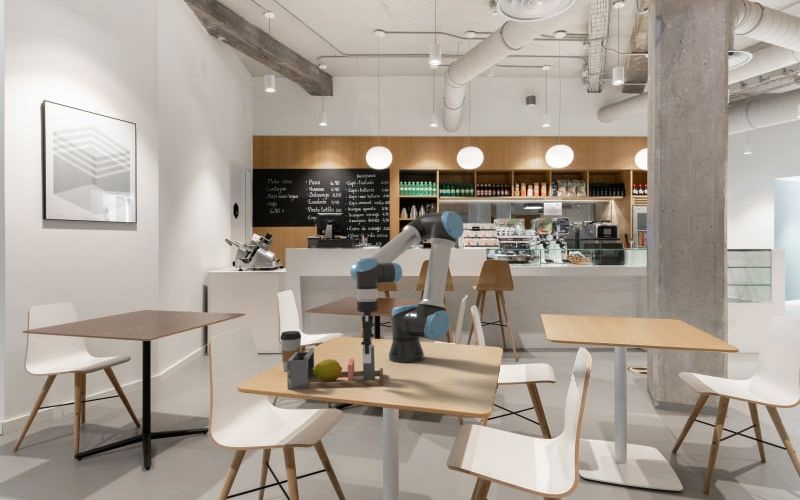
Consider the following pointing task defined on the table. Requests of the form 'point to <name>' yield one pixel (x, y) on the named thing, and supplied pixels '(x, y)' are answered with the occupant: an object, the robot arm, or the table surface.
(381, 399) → the table surface
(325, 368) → the lemon
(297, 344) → the coffee cup
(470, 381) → the table surface
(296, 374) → the grey open bin
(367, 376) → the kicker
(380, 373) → the lane rails
